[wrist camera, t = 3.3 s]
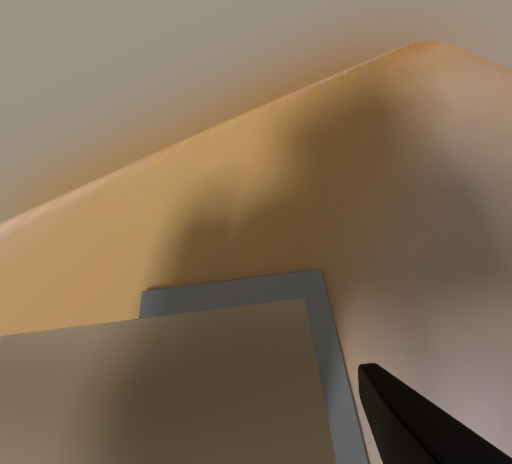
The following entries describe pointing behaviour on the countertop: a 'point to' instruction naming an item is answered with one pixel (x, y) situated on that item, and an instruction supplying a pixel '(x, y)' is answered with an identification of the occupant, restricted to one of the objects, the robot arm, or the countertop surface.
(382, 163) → the countertop surface
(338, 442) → the gray tile
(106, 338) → the birch block
